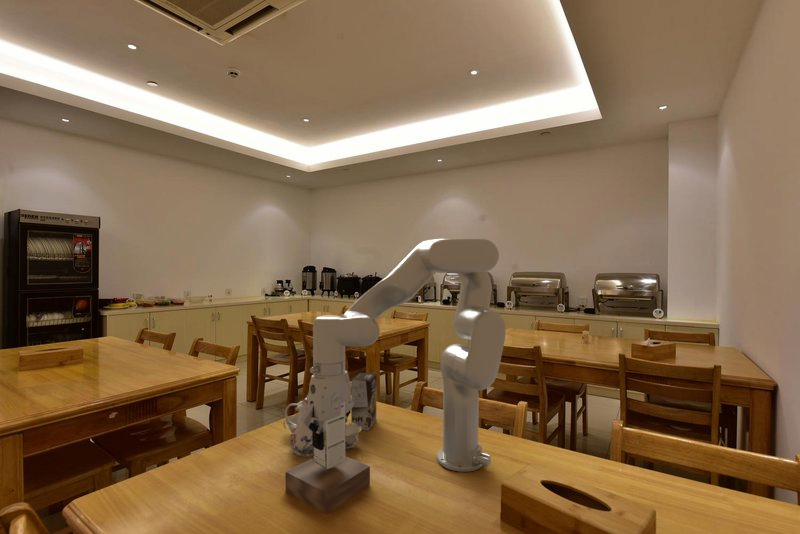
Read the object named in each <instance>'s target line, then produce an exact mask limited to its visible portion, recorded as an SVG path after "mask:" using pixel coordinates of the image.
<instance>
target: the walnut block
mask: <svg viewBox="0 0 800 534" xmlns="http://www.w3.org/2000/svg"><path fill="white" fill-rule="evenodd" d="M370 486H371V466H370V465H368V464H365V463H362V462H361V461H359V460H356V459H354V458H350V457H348V456H346V455H345V461H344V462H342V463H340V464H338V465H336V466H334V467H332V468H329V469H326V468H324V467H322V466H321V465H319V464H317V463H316V462H314V461H313V457H312V458H310V459H308V460H306V461H305V462H302V463H300V464H298V465H296V466H294V467H292V468H290V469H288V470H286V471H285V493H288V494H289V495H291V496H293V497H295V498H297V499H298V500H301V501H302V502H303V503H306V504H307V505H309V506H311V507H313V508H314V509H316V510H318V511H320V512H322V513H323V514H325V515H327V514H329V513H330V512H332V511H334V510H336V509H337V508H338V507H340V506H341V505H343V504H344V503H346V502H347V501H349V500H350V499H352V498H353V497H355V496H356V495H358V494H359V493H360V492H362V491H364V490H365V489H367V488H368V487H370Z"/></svg>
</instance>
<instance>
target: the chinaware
mask: <svg viewBox="0 0 800 534" xmlns="http://www.w3.org/2000/svg"><path fill="white" fill-rule="evenodd" d="M292 406H293V407H294V406H296V407H295V411H298V413H296V414H294V415H288V409H289V408H290V407H292ZM307 410H308V394H307V395H306V397H304V399H303V400H300V401H299V402H297V403H294V402H293V403H289V404H288V405H287V406H286V407H285V409H284V413H283V414H284V421H283V428H284V429H285V430H287V431H289V430H290V433H292V436H291V438H290V440H289V443H288V444H289V446H290V448H292V449H293V453H294V454H295V455H296V456H299V457H313V443H312V431H311V430H310V429H309V428H308V427H307V426H306V425H304V424H303V423H302V422H301V419H302V418H303V416H304V414H305V413H306V411H307ZM312 419H313V418H311V419H310V421H311V422H312ZM285 423H286V424H285ZM285 425H287V426H288V428H287V427H286V426H285ZM361 431H363V430H362V427H361V426H358V425H357V424H355V423H351V422H349V423H347V424H346V423H345V450H346V449H347V450H348V449H353V448H358V447H359V443H360V442H359V437H360V433H361ZM355 443H356V445H355Z"/></svg>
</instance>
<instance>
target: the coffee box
mask: <svg viewBox="0 0 800 534" xmlns="http://www.w3.org/2000/svg"><path fill="white" fill-rule="evenodd" d="M377 377H378V375H377V373H372V372H365V373H364V372H359V373H358V374H357V375H356V376H354V377H353V378H351V400H352V401H353V402H354V403H355V404H354V406H353V408H352V410H350V411H351V412H350V414H351V415H350V418H351V419H350V420H351V421H350V423H355V424H357V425H358V426H361V427H362V430H361V431H366V432H367V431H368V432H369V431H370V430H371V428H373V426H374V424H375V423H376V421H377V391H378V390H377V389H378V388H377V386H378V385H377V384H378V383H377V382H378V381H377V380H378V379H377Z"/></svg>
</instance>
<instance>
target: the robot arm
mask: <svg viewBox="0 0 800 534" xmlns="http://www.w3.org/2000/svg"><path fill="white" fill-rule="evenodd" d="M499 257H500V254H499V249H498V247H497V246H496V244H495V243H494V242H492V241H491V240H489V239H486V238H434V239H426V240H423V241H421V242H420V243H418V244H417V245H416V246H414V248H413V249H412V250H411V251H410V252H409V253H408V254H407V255H406V256H405V257H404V258H403V259H402V261H400V262H399V264H397V266H396V267H394V269H392V270H391V272H390V273H389V274H387V276H385V277H384V278H383V279H381V280H380V281H379V282H377V283H376V284H375V285H374V286H372V287H371V288H369V289H368V290H367V291H366V292H364V293H363V294H362V295H361V296H360V297H359V298H358V299H357V300H356V301H354V303H353V304H352V305H351V306H349V308H348V309H347V310H346V311H345V312H344V313H343V315H342V316H341V315H336V314H335V315H334V314H333V315H332V314H329V315H325V314H324V315H319V316H317V317H315V318H314V319H313V322H312V323H313V324H312V367H310V368H309V373H310V374H312V375H311V376H310V381H309V388H308V394H307V395H308V410H307V411H306V413H305V414H304V416H303V418H302V419H301V422H302V423H303V424H304V425H306V426H307V427H308V428H309V429H310V430H311V431H312V443H313V447H314V448H316V449H319V450H323V448H324V441H323V432H321V431H322V427H323V422H325V421H327V420H330V419H332V418H335V417H337V416H340V413H341V405H342V404H341V403H342V402H343V403H344V402H345V424H346V423H348V417H349V416H350V414H351V410H352V408H353V406H354V404H355V403H354V402H353V401H352V387H351V382H350V376H349V373H348V372H349V371H347V370H346V346H347V347H359V348H360V347H362V348H363V347H364V348H365V347H369V346H372V344H374V343H375V342H376V341H378V339H379V336H380V333H381V332H380V331H381V329H380V325H379V323H378V322H377V319H378V318H379V317H380V316H381V315H382V314H384V313H385V312H386V311H388V310H390V309H392V308H394V307H397V306H400V305H403V304H405V303H408V302H409V301H411V300H412V299H413V298H414V297H415V295H417V294H418V292H419V291H421V289H422V288H423V287H424V286H425V285H426V284H427V283H428V282H429V281H430V280H431V279H432V278H433V276H434V275H435V274H436V273H438V274H439V273H440V274H442V273H443V274H457V275H458V278H459V282H460V287H459V290H460V291H459V294H458V295H459V296H458V300H457V301H458V302H457V306H456V309H455V314H454V319H453V331H454V333H455V334H456V335H457V336H458V337H459V338H460V339H462V340H466V341H468V342H469V345H468V344H463V343H453V344H450V345H448V346H447V347H446V348H445V349H444V350H443V351H442V353H441V356H440V357H441V358H440V371H441V379H442V387H443V388H442V393H443V395H442V396H443V397H442V398H443V399H442V400H443V403H442V405H443V408H442V409H443V412H442V415H443V417H442V418H443V419H442V421H443V422H442V427H443V429H442V448H441V449H440V450H439V451H438V452H437V454H436V456H437V459H436V460H437V463H438V464H440V465H441V466H442V467H444V468H445V469H448V470H450V471H453V472H454V471H455V472H458V473H459V472H461V473H467V472H475V471H477V470H479V469H481V468H482V467H483V466H486V467H487V468H489V467H490V466H491V464H492V460H491V454H488V453H484V452H483V446H482V445H481V444H479V415H480V413H479V405H480V401H479V400H480V398H479V397H480V395H479V391H484V390H486V389H488V388H490V387H491V386H492V385H493V384H494V382H495V380H496V378H497V377H498V373H499V369H500V365H501V360H502V356H503V351H504V345H505V341H506V337H507V336H506V335H507V333H506V332H507V329H506V323H505V320H504V318H503V316H502V315H501V314H500V313H499V312H497V311H496V310H494V309H491V308H490V305H491V298H492V297H491V296H492V291H493V290H492V289H493V288H492V280H491V277H490V275H489V271H491V270H493V269H494V268H495V267H496V265H497V264H498V262H499V259H500V258H499ZM337 405H338V406H337ZM336 406H337V407H336ZM334 407H335V408H338V407H339V408H338V409H335V408H334ZM311 418H313V419H312V422H311V421H310V419H311ZM317 421H319V422H318V425H317ZM316 425H317V426H316Z"/></svg>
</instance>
